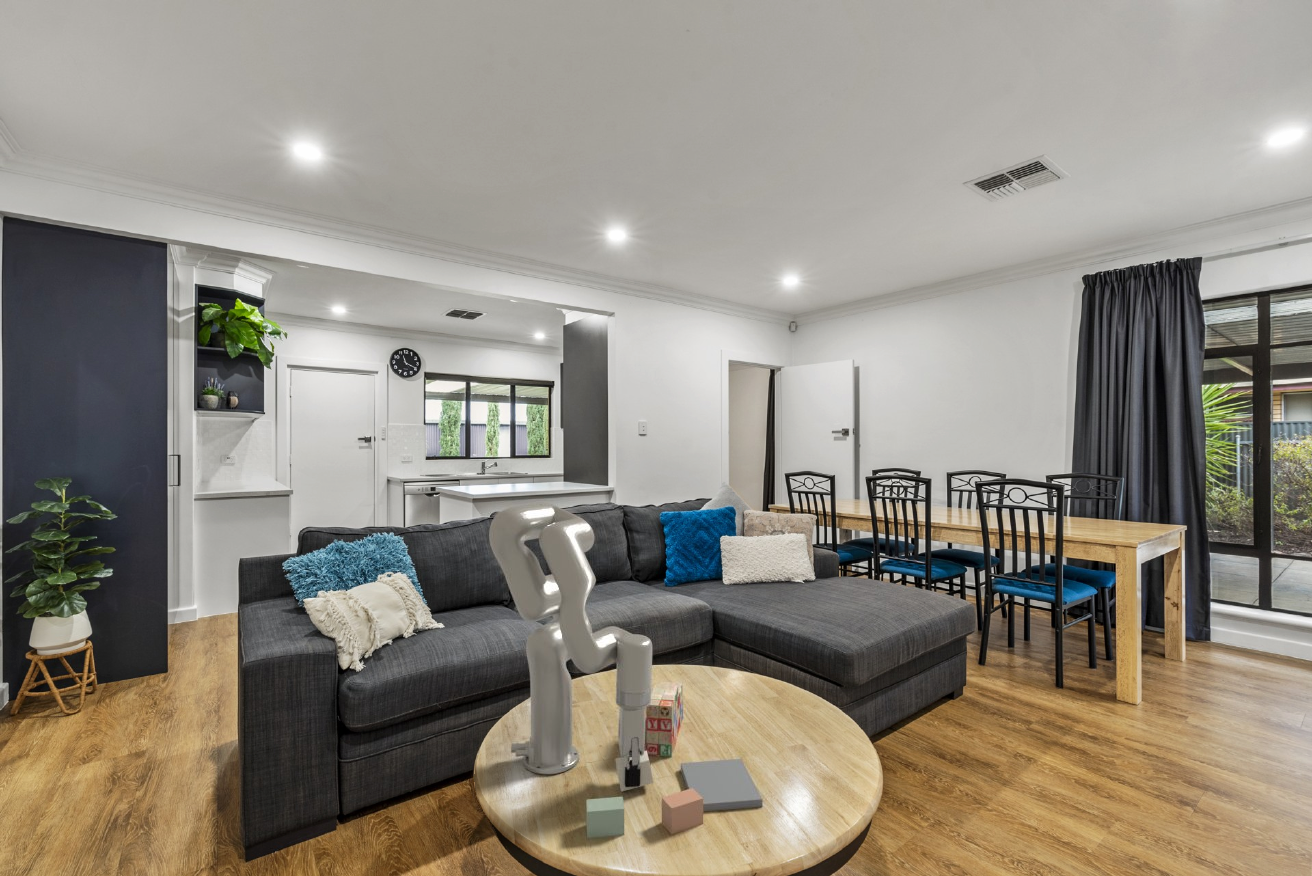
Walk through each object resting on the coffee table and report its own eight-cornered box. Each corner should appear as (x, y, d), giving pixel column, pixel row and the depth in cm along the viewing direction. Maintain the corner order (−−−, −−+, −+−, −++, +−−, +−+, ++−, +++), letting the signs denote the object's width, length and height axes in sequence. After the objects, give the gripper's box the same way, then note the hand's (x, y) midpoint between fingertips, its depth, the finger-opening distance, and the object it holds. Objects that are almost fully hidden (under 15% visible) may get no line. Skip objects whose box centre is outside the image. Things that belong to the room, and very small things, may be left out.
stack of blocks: (660, 715, 167) (660, 670, 167) (683, 717, 166) (683, 671, 166) (645, 755, 146) (645, 703, 146) (672, 758, 145) (672, 705, 145)
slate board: (694, 812, 124) (694, 804, 124) (680, 769, 140) (680, 763, 140) (762, 806, 126) (762, 799, 126) (741, 765, 142) (741, 758, 142)
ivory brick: (621, 791, 130) (616, 768, 130) (619, 780, 134) (615, 758, 134) (653, 782, 131) (649, 760, 131) (651, 772, 135) (646, 750, 135)
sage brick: (587, 838, 116) (586, 811, 116) (586, 825, 120) (586, 799, 120) (624, 835, 117) (624, 808, 117) (622, 822, 121) (622, 796, 121)
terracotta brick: (671, 834, 117) (671, 808, 117) (661, 823, 121) (661, 797, 121) (703, 823, 120) (703, 798, 120) (692, 812, 124) (692, 787, 124)
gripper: (613, 679, 140) (611, 759, 141) (618, 713, 124) (616, 804, 124) (646, 678, 141) (644, 758, 142) (656, 712, 125) (653, 802, 125)
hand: (631, 779), depth 133 cm, fingers closed on ivory brick, 3 cm apart
